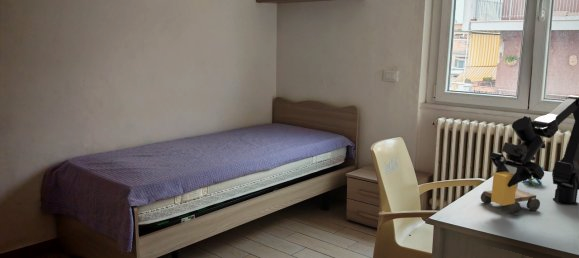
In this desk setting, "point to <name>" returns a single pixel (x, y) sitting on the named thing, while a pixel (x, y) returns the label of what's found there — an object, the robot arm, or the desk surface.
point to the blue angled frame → (535, 178)
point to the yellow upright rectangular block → (503, 189)
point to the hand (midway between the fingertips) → (501, 184)
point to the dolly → (519, 196)
